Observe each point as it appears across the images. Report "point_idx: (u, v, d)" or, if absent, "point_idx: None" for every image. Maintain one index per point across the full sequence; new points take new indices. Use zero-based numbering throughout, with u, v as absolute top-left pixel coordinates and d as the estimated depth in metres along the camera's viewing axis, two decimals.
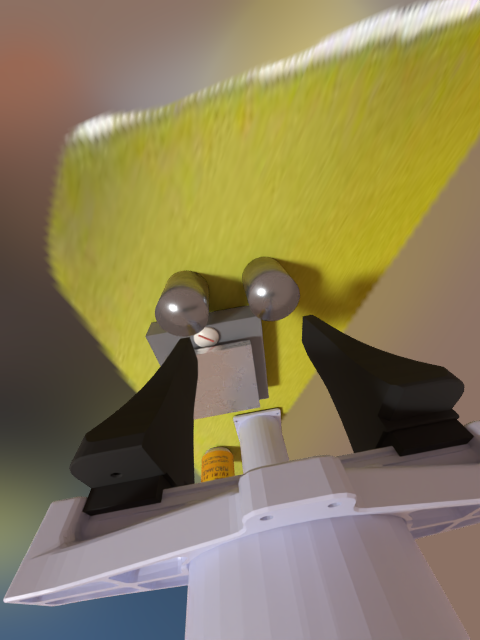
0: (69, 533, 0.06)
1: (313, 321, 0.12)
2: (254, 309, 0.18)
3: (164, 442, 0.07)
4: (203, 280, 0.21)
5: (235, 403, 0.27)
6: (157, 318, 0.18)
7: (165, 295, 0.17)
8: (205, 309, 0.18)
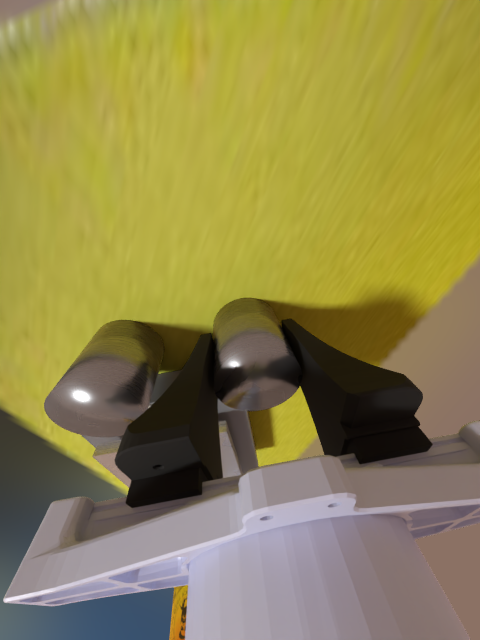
0: (69, 533, 0.06)
1: (290, 325, 0.12)
2: (225, 398, 0.11)
3: (202, 435, 0.07)
4: (150, 334, 0.13)
5: None
6: (53, 418, 0.10)
7: (58, 385, 0.09)
8: (137, 402, 0.10)
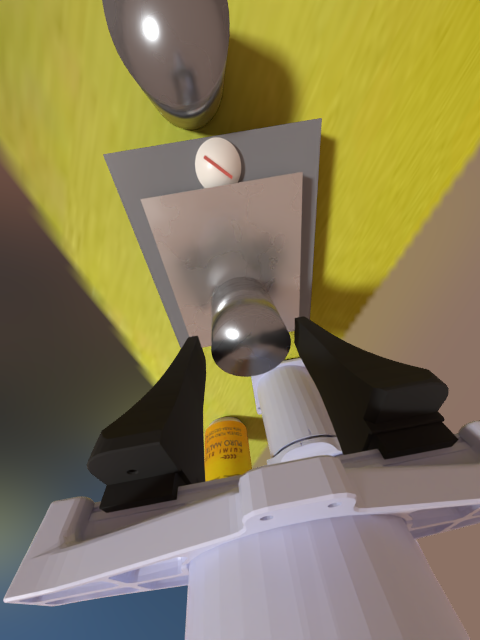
0: (69, 533, 0.06)
1: (304, 323, 0.12)
2: (218, 358, 0.12)
3: (178, 439, 0.07)
4: None
5: None
6: (109, 19, 0.07)
7: None
8: None
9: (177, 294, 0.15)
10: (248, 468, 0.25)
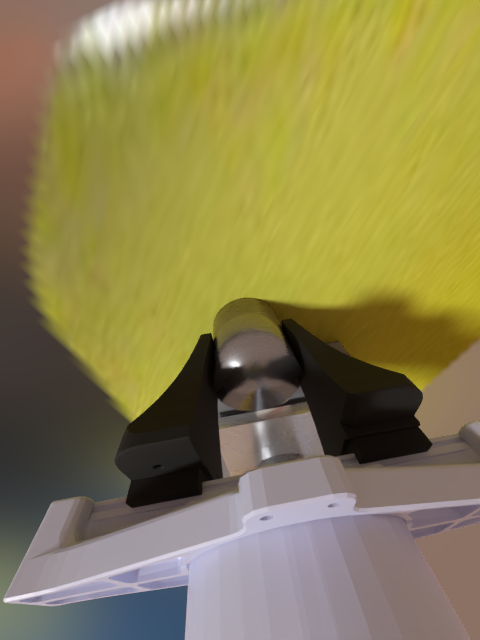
0: (69, 533, 0.06)
1: (290, 325, 0.12)
2: None
3: (202, 435, 0.07)
4: (273, 312, 0.13)
5: None
6: (216, 389, 0.10)
7: (236, 354, 0.09)
8: (299, 373, 0.10)
9: (229, 466, 0.17)
10: None
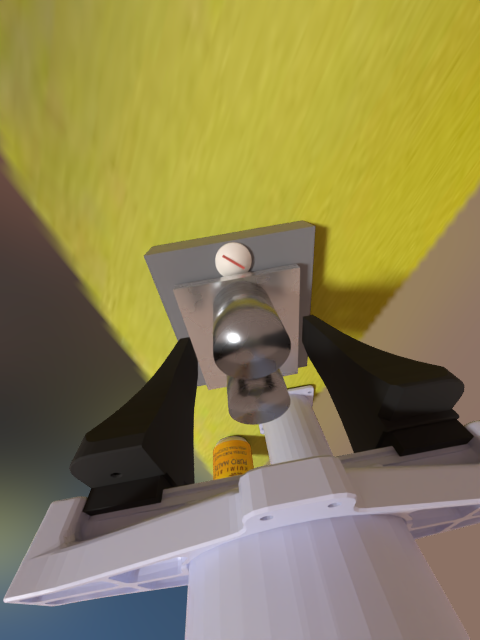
0: (69, 533, 0.06)
1: (313, 321, 0.12)
2: (234, 413, 0.15)
3: (164, 442, 0.07)
4: (267, 294, 0.15)
5: None
6: (215, 357, 0.12)
7: (232, 323, 0.11)
8: (288, 342, 0.12)
9: (197, 351, 0.18)
10: None
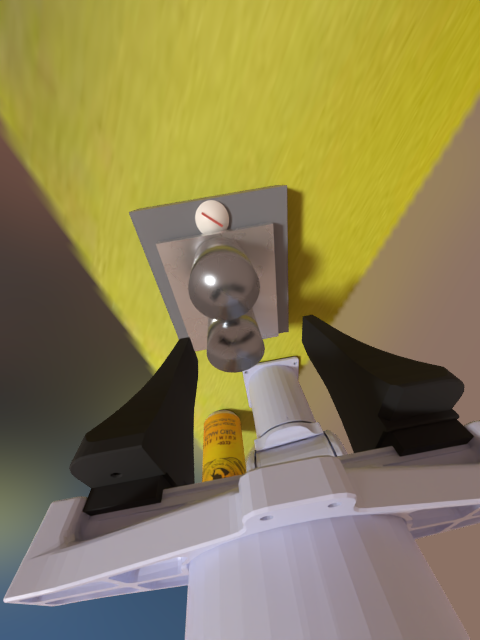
0: (69, 533, 0.06)
1: (313, 321, 0.12)
2: (212, 359, 0.16)
3: (164, 442, 0.07)
4: (242, 248, 0.16)
5: None
6: (191, 294, 0.13)
7: (202, 259, 0.12)
8: (256, 279, 0.13)
9: (181, 309, 0.19)
10: (240, 453, 0.30)
